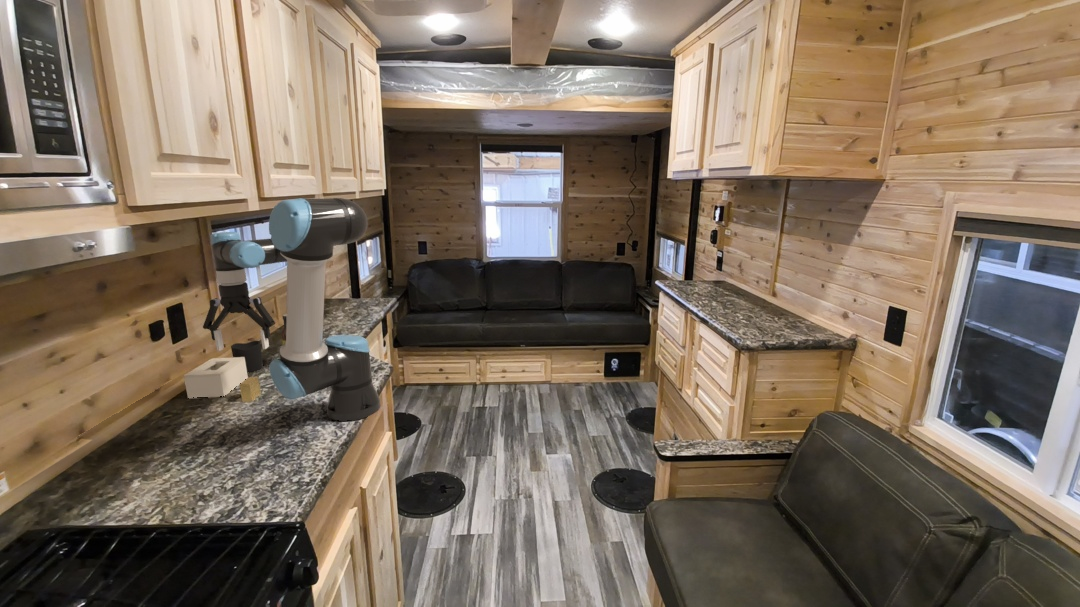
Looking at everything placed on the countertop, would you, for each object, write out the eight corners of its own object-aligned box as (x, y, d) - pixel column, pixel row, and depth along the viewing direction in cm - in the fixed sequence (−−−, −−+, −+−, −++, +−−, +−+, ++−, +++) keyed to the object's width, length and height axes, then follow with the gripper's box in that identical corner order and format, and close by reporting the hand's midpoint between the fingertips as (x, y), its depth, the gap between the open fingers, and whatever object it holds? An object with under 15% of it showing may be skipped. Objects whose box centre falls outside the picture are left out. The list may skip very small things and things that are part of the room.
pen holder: (251, 374, 173) (247, 348, 171) (229, 373, 175) (224, 347, 172) (269, 365, 182) (266, 340, 180) (248, 364, 184) (244, 340, 181)
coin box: (224, 396, 155) (219, 373, 153) (188, 398, 153) (183, 375, 152) (248, 377, 170) (244, 356, 168) (215, 379, 169) (211, 358, 167)
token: (252, 401, 151) (249, 383, 149) (242, 401, 151) (239, 384, 149) (261, 393, 157) (258, 376, 155) (251, 394, 156) (248, 377, 155)
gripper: (280, 279, 150) (289, 343, 155) (196, 281, 147) (208, 346, 152) (270, 284, 143) (279, 351, 148) (181, 286, 140) (194, 354, 145)
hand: (243, 348), depth 150 cm, fingers open, 13 cm apart
